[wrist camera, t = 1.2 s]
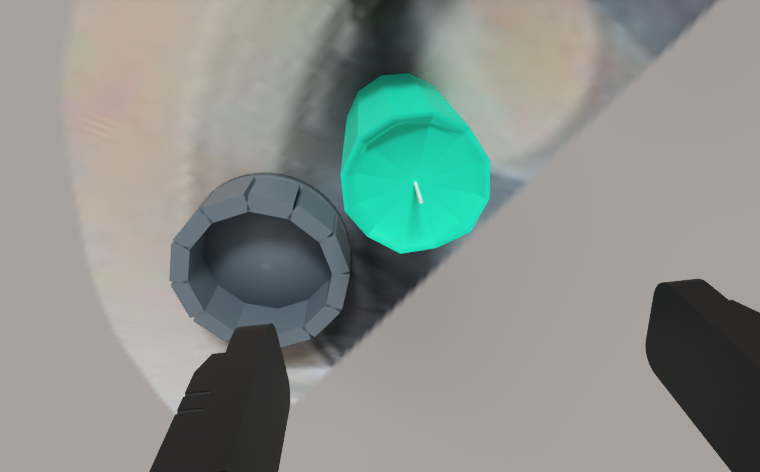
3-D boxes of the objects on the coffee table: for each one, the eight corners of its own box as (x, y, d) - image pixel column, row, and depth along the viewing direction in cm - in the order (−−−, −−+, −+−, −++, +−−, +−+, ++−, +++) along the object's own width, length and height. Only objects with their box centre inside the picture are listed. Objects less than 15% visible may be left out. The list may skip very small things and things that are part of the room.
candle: (330, 93, 27) (312, 152, 17) (432, 56, 27) (481, 93, 16) (366, 187, 30) (370, 292, 19) (460, 156, 29) (519, 245, 18)
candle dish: (317, 151, 29) (310, 173, 25) (368, 287, 33) (369, 322, 29) (163, 200, 30) (136, 227, 26) (233, 326, 34) (218, 365, 30)
